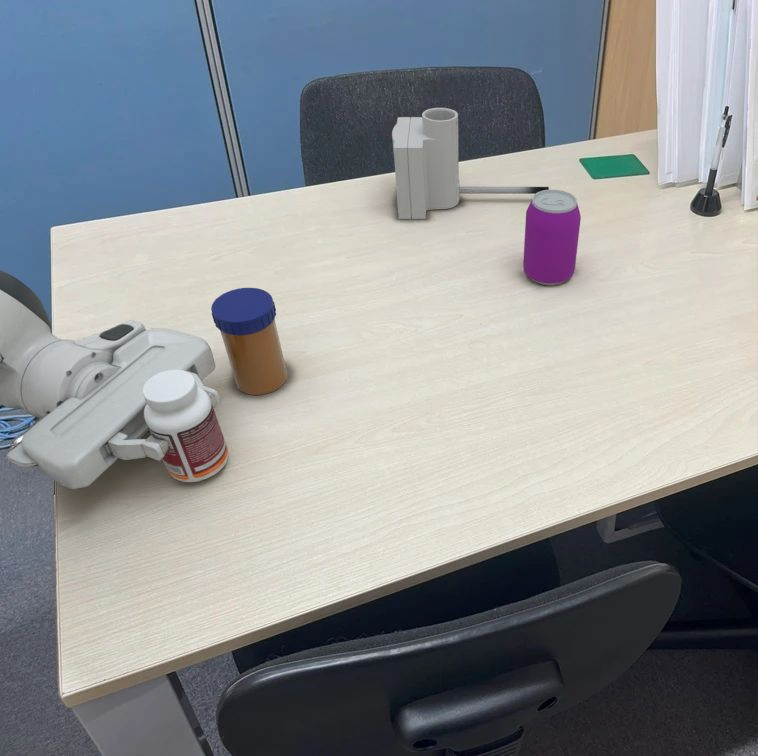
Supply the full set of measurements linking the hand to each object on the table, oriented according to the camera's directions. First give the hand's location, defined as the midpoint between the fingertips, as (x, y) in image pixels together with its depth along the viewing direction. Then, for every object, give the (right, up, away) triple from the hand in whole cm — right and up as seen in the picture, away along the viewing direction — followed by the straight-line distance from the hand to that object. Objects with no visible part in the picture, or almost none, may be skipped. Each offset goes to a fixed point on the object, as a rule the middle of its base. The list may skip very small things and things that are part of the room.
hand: (191, 424), depth 70 cm
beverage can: (+38, +20, +35) cm, 55 cm away
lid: (+2, +13, +8) cm, 15 cm away
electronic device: (+26, +35, +51) cm, 67 cm away
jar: (+2, +5, +15) cm, 16 cm away
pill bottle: (-1, -4, +4) cm, 6 cm away
